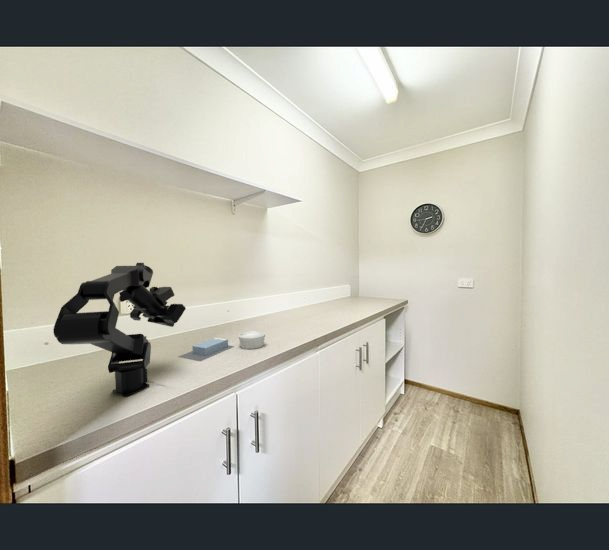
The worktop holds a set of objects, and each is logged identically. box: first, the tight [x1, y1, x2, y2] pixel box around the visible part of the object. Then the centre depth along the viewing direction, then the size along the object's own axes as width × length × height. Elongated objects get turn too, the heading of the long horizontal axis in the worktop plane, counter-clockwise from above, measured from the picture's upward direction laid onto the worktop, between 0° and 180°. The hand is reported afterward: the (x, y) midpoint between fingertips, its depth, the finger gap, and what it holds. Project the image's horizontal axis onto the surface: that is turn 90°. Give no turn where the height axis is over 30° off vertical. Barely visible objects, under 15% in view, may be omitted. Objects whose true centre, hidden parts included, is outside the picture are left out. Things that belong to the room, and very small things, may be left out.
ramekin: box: [238, 330, 266, 350], centre depth 105 cm, size 11×11×5 cm
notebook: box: [192, 337, 229, 356], centre depth 100 cm, size 3×7×12 cm
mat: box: [177, 344, 235, 362], centre depth 98 cm, size 18×12×1 cm, turn 155°
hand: (172, 325), depth 86 cm, fingers closed
